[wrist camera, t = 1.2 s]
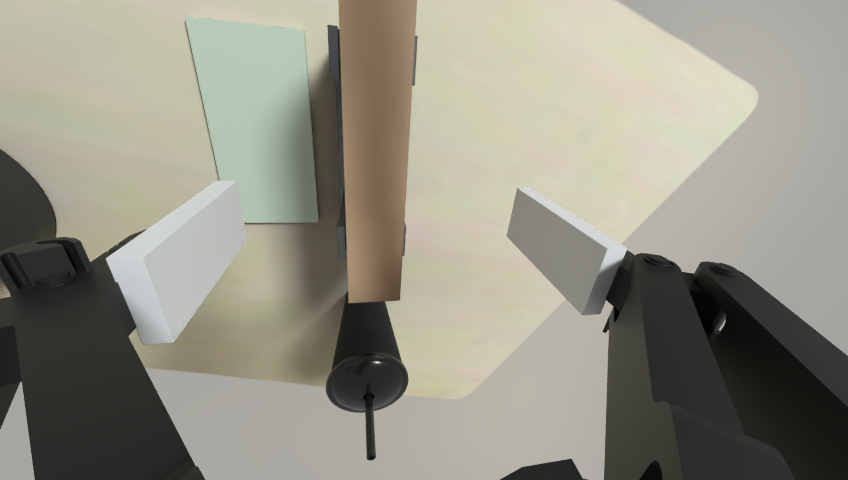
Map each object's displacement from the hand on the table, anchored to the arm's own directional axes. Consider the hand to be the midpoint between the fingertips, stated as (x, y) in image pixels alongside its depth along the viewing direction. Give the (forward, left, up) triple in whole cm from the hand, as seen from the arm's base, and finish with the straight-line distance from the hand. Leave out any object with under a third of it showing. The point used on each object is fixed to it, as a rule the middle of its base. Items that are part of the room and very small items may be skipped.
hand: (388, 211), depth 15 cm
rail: (0, 0, -12) cm, 12 cm away
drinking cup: (-1, -20, -20) cm, 28 cm away
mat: (-10, 0, -20) cm, 22 cm away
